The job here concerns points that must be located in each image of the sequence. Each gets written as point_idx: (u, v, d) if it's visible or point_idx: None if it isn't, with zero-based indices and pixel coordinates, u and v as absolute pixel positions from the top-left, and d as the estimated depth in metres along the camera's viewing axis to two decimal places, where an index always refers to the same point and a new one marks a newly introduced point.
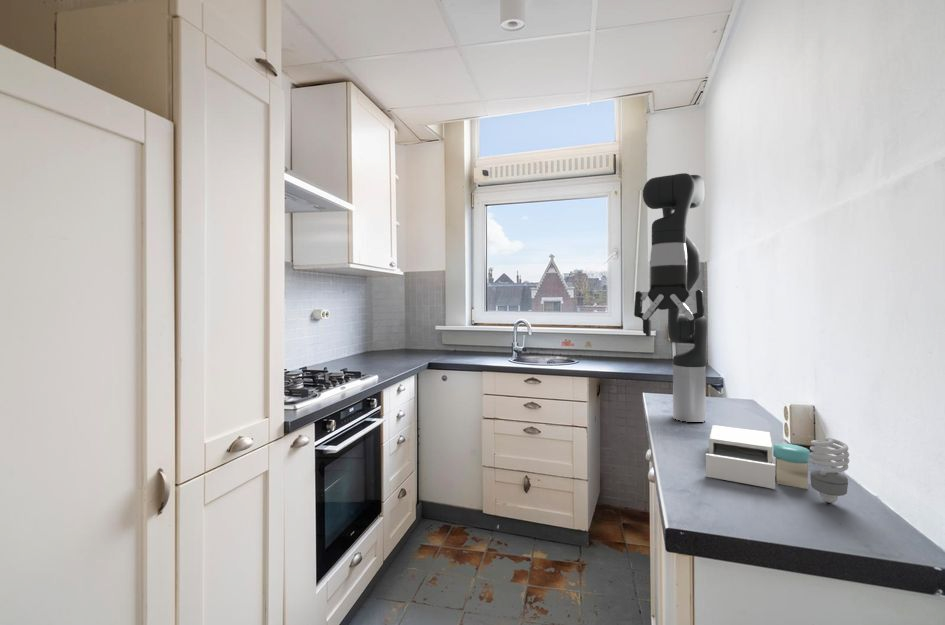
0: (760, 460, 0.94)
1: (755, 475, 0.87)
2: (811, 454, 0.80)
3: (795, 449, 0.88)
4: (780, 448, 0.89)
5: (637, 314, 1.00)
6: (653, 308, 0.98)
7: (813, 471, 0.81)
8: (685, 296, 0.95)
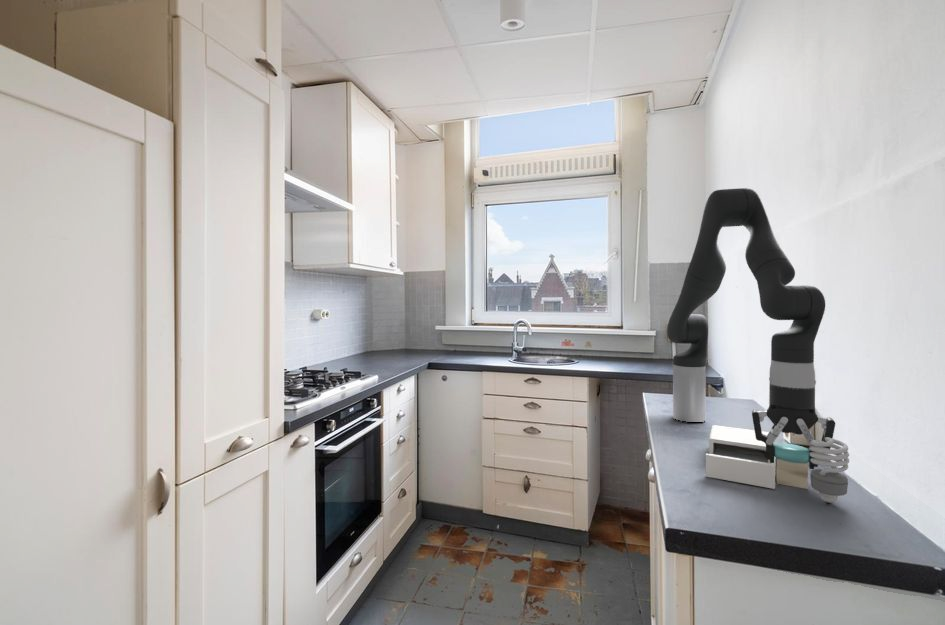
0: (760, 460, 0.94)
1: (755, 475, 0.87)
2: (811, 454, 0.80)
3: (796, 449, 0.88)
4: (780, 448, 0.89)
5: (760, 438, 0.90)
6: (778, 432, 0.88)
7: (813, 471, 0.81)
8: (813, 422, 0.86)
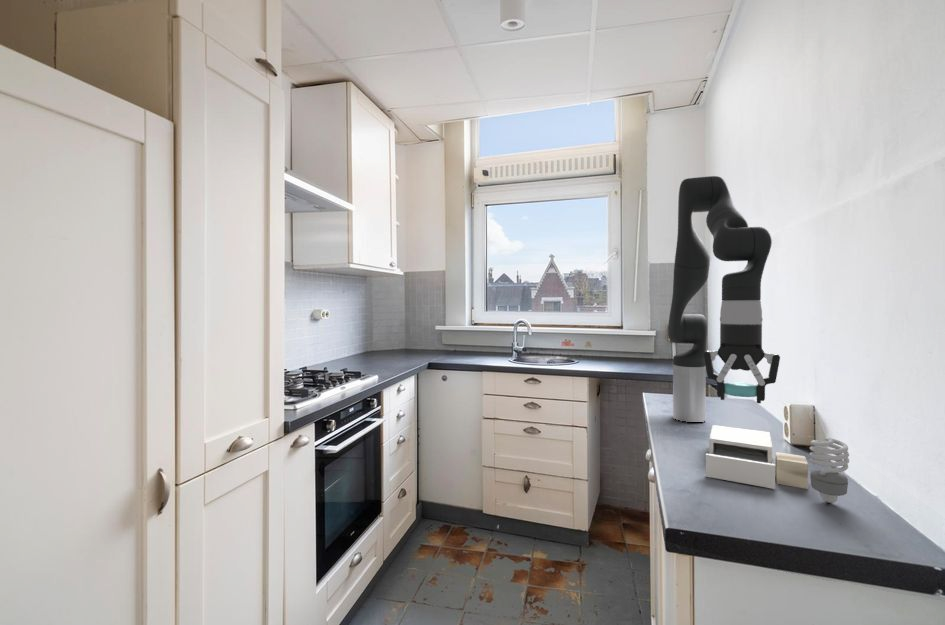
0: (760, 460, 0.94)
1: (755, 475, 0.87)
2: (811, 454, 0.80)
3: (744, 385, 0.91)
4: (729, 384, 0.92)
5: (711, 376, 0.94)
6: (727, 369, 0.92)
7: (813, 471, 0.81)
8: (760, 357, 0.89)
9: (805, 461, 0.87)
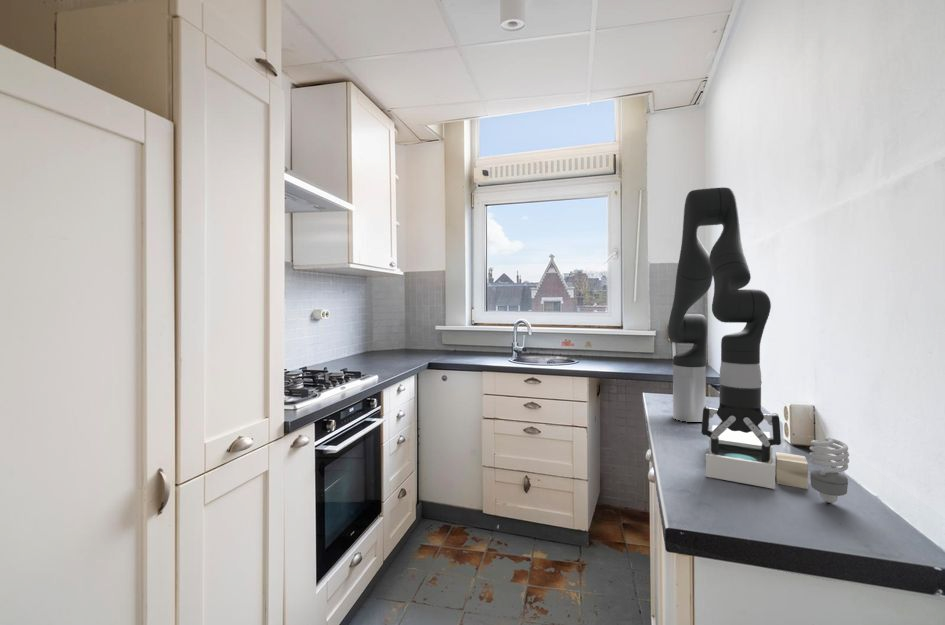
0: (760, 460, 0.94)
1: (755, 475, 0.87)
2: (811, 454, 0.80)
3: None
4: None
5: (705, 432, 0.95)
6: (723, 429, 0.92)
7: (813, 471, 0.81)
8: (760, 420, 0.89)
9: (805, 461, 0.87)
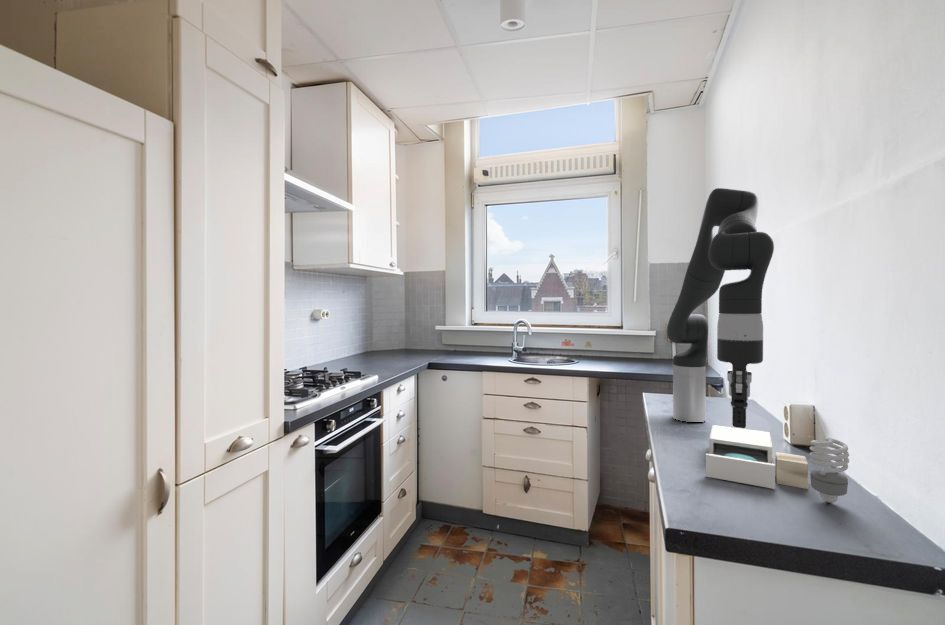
0: (760, 460, 0.94)
1: (755, 475, 0.87)
2: (811, 454, 0.80)
3: None
4: None
5: None
6: None
7: (813, 471, 0.81)
8: (732, 377, 0.81)
9: (805, 461, 0.87)
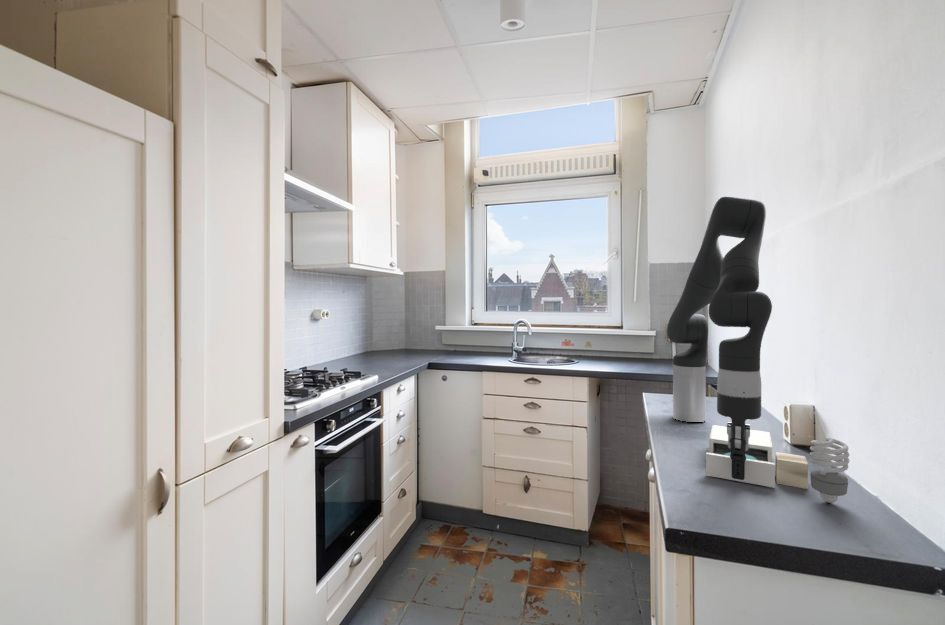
0: (760, 459, 0.95)
1: (755, 474, 0.87)
2: (811, 454, 0.80)
3: None
4: None
5: None
6: None
7: (813, 471, 0.81)
8: (731, 431, 0.84)
9: (805, 461, 0.87)
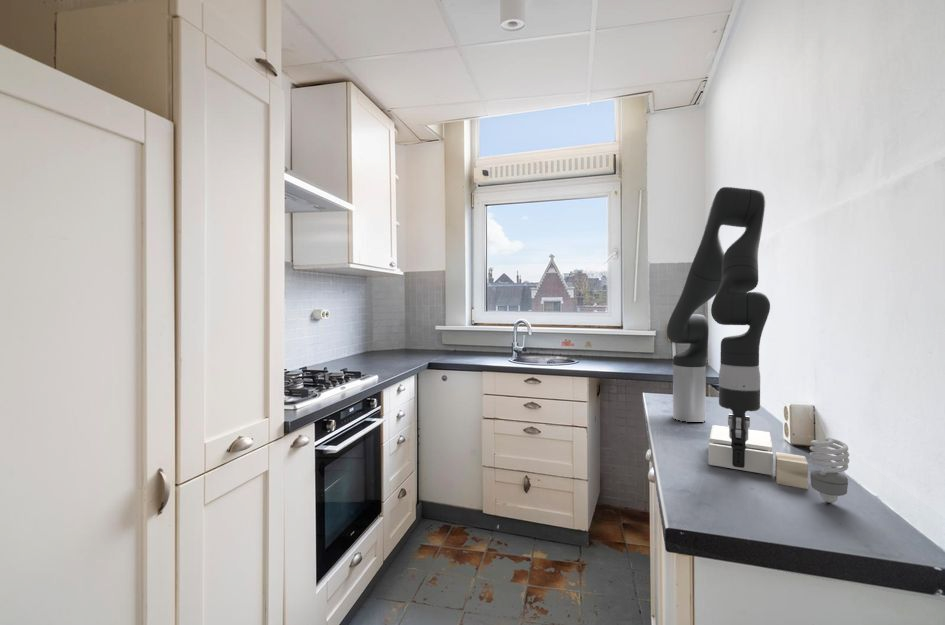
0: (759, 450, 1.01)
1: (754, 462, 0.93)
2: (811, 454, 0.80)
3: None
4: None
5: None
6: None
7: (813, 471, 0.81)
8: (732, 422, 0.91)
9: (805, 461, 0.87)
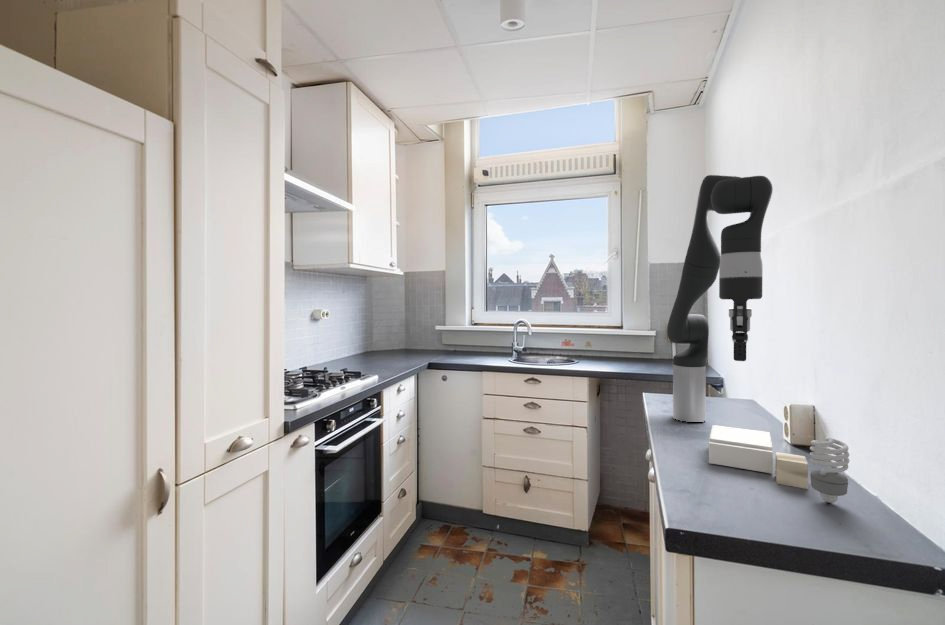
0: None
1: (754, 461, 0.94)
2: (811, 454, 0.80)
3: None
4: None
5: None
6: None
7: (813, 471, 0.81)
8: (733, 312, 0.87)
9: (805, 461, 0.87)
